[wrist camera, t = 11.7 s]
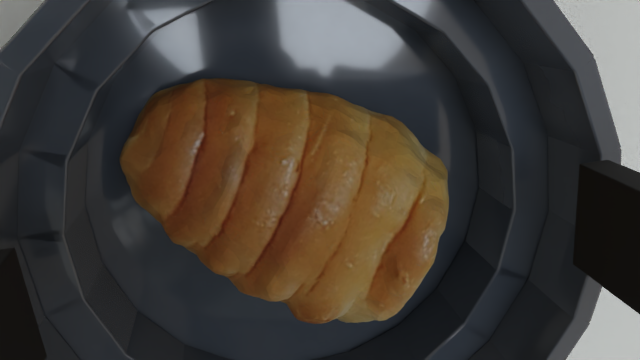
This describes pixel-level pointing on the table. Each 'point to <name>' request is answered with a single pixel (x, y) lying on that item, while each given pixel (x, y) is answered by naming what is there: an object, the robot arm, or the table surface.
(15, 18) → the table surface
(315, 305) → the pastry
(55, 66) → the bowl
